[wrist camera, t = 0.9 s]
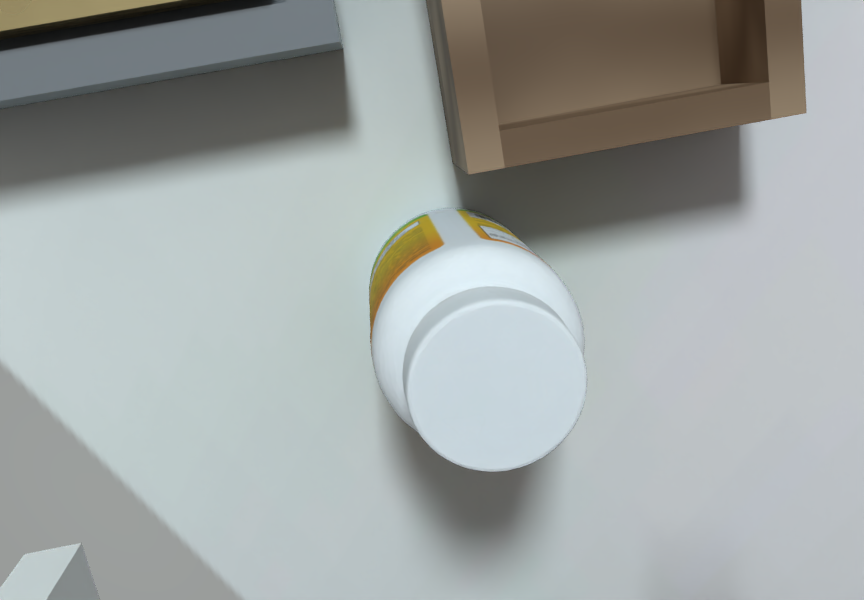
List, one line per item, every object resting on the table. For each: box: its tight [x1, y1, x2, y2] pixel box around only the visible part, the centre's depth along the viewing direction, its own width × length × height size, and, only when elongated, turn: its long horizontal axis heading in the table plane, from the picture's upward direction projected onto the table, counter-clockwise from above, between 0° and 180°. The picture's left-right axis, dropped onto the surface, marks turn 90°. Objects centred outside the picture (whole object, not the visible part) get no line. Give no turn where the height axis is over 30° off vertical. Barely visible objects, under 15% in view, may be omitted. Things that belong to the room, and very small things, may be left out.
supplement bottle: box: [369, 208, 587, 472], centre depth 22 cm, size 5×5×10 cm
